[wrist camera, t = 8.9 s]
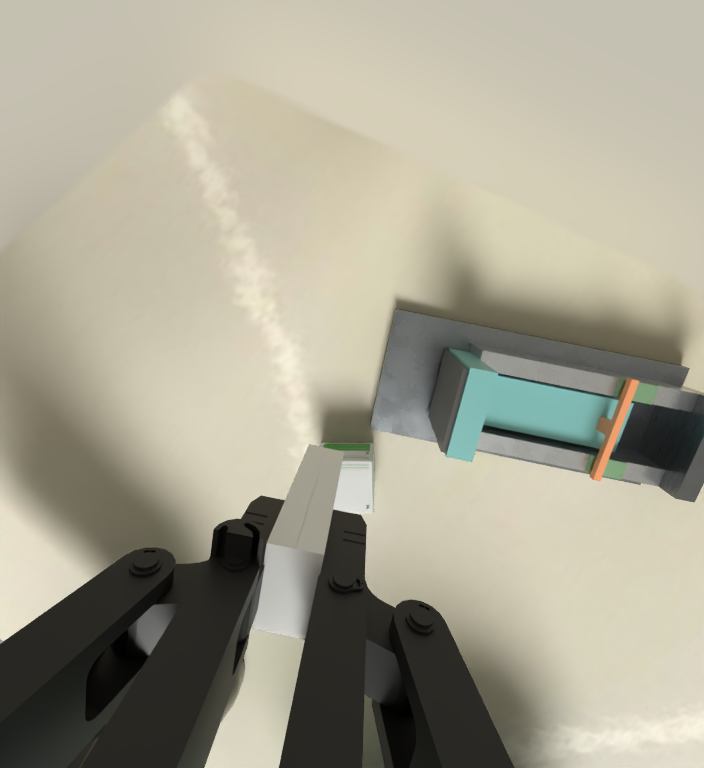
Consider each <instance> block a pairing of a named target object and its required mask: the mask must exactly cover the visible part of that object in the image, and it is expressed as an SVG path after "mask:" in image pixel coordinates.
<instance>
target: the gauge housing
mask: <svg viewBox="0 0 704 768" xmlns="http://www.w3.org/2000/svg"><path fill="white" fill-rule="evenodd" d="M449 348H451V349H456V350H461V351H466V352H471V353H472V354H473V355H475V356H476V357H477V358H479V359H480V360H481V361H483V362H484V363H485V364H487V365H488V366H489V367H491V368H492V369H493V370H495V371H496V372H498V373H500V374H505V375H510V376H515V377H520V378H525V379H530V380H535V381H540V382H545V383H550V384H555V385H560V386H564V387H569V388H574V389H579V390H584V391H589V392H594V393H599V394H604V395H609V396H614V397H616V398H620V396H621V393H622V391H623V388H624V386H625V383H626V380H627V378H631V379H636V380H638V381H639V384H638V386H637V389H636V391H635V394H634V396H633V399H632V403H634V405H633V407H632V410H631V412H630V415H629V417H628V420H627V422H626V425H625V428H624V430H623V433H622V435H621V438H620V440H619V443H618V445H617V448H616V450H615V452H614V451H612V452H611V455H610V457H609V460H608V462H607V465H606V468H605V470H604V473H603V475H602V477H605V478H610V479H615V480H619V481H624V482H629V483H634V484H639V485H640V484H641V483H645V484H649V485H654V486H659V487H660V488H662V489H663V490H664V491H666V492H667V493H668V494H670V495H671V496H673V497H674V498H676V499H680V500H685V501H690V502H695V500H696V498H697V496H698V494H699V492H700V490H701V488H702V486H703V483H704V393H702V392H699V391H696V390H693V389H690V388H687V387H684V386H682V385H683V383H684V380H685V378H686V376H687V373H688V371H689V369H690V368H687V367H684V366H679V365H674V364H669V363H664V362H659V361H654V360H649V359H644V358H639V357H634V356H629V355H624V354H619V353H614V352H609V351H604V350H599V349H594V348H589V347H584V346H579V345H574V344H569V343H564V342H559V341H554V340H549V339H544V338H539V337H534V336H529V335H524V334H519V333H514V332H509V331H504V330H499V329H494V328H489V327H484V326H479V325H474V324H469V323H464V322H459V321H454V320H449V319H444V318H439V317H434V316H429V315H424V314H419V313H414V312H409V311H404V310H399V309H395V313H394V318H393V323H392V327H391V332H390V336H389V341H388V346H387V350H386V355H385V359H384V364H383V369H382V373H381V378H380V382H379V387H378V392H377V396H376V401H375V405H374V410H373V415H372V419H371V424H370V429H373V430H378V431H383V432H388V433H392V434H397V435H402V436H407V437H412V438H417V439H421V440H426V441H431V442H436V443H438V442H437V439H436V437H435V434H434V431H433V428H432V426H431V423H430V420H429V417H428V414H429V410H430V406H431V402H432V398H433V394H434V390H435V386H436V383H437V379H438V375H439V371H440V367H441V363H442V359H443V355H444V351H445V350H448V351H449ZM599 450H600V449H599V448H594V447H589V446H584V445H579V444H575V443H570V442H565V441H560V440H555V439H550V438H545V437H541V436H536V435H531V434H526V433H521V432H516V431H511V430H506V429H502V428H497V427H492V426H487V425H483V427H482V431H481V434H480V437H479V441H478V444H477V448H476V451H479V452H484V453H489V454H494V455H499V456H503V457H508V458H513V459H518V460H523V461H528V462H532V463H537V464H542V465H547V466H552V467H557V468H561V469H566V470H571V471H576V472H581V473H586V474H591V471H592V469H593V466H594V463H595V461H596V458H597V456H598V453H599Z"/></svg>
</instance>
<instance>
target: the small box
mask: <svg viewBox="0 0 704 768" xmlns="http://www.w3.org/2000/svg"><path fill="white" fill-rule="evenodd" d="M320 447H324V448H329V449H334V450H339V451H344V456H343V461H342V466H341V471H340V476H339V481H338V486H337V492H336V497H335V502H334V507H333V509H334V510H339V511H344V512H348V513H373V512H374V443H321V445H320Z"/></svg>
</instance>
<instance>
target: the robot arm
mask: <svg viewBox="0 0 704 768" xmlns="http://www.w3.org/2000/svg"><path fill="white" fill-rule="evenodd" d="M343 456H344V451H339V450H334V449H329V448H324V447H319V446H314V445H309V446H308V448H307V451H306V453H305V455H304V458H303V460H302V462H301V465H300V467H299V469H298V472H297V474H296V476H295V479H294V481H293V483H292V486H291V488H290V490H289V493H288V495H287V497H286V499H285V500H280V499H275V498H270V497H265V496H260V497H258V498H257V499H255V500H254V501H252V502H251V503H250V505H249V506H248V508H247V510H246V511H245V513H244V515H243V517H242V518H241V519H233V520H227V521H225V522H223V523H220V524H219V525H218V526H217V527H216V528H215V529H214V531H213V540H212V548H211V556H210V558H209V560H207V561H204V562H200V563H193V564H175V559H174V557H173V554H171V553H170V552H168V551H167V550H164V549H160V548H143V549H139V550H135V551H133V552H131V553H129V554H127V555H125V556H124V557H122V558H121V559H119V560H118V561H116V562H115V563H114V564H112V565H111V566H109V567H108V568H107V569H105V570H104V571H102V572H101V573H100V574H98V575H97V576H95V577H94V578H93V579H91V580H90V581H88V582H87V583H85V584H84V585H83V586H81V587H80V588H78V589H77V590H76V591H74V592H73V593H71V594H70V595H69V596H67V597H66V598H64V599H63V600H62V601H60V602H59V603H57V604H56V605H55V606H53V607H52V608H50V609H49V610H47V611H46V612H45V613H43V614H42V615H40V616H39V617H38V618H36V619H35V620H33V621H32V622H31V623H29V624H28V625H26V626H25V627H24V628H22V629H21V630H19V631H18V632H16V633H15V634H14V635H12V636H11V637H9V638H8V639H7V640H5V641H4V642H3V641H2V640H1V639H0V768H204V767H205V764H206V761H207V758H208V755H209V753H210V750H211V747H212V744H213V741H214V739H215V736H216V733H217V730H218V727H219V725H220V723H221V721H222V720H223V718H224V717H225V716H226V714H227V713H228V711H229V710H230V709H231V707H232V706H233V704H234V702H235V700H236V698H237V695H238V692H239V690H240V687H241V684H242V681H243V677H244V662H243V657H244V655H245V652H246V649H247V645H248V639H249V633H250V629H251V627H252V624H253V621H254V625H253V629H257V630H262V631H266V632H271V633H276V634H281V635H285V636H290V637H295V638H300V639H304V640H305V643H304V648H303V653H302V658H301V663H300V667H299V672H298V677H297V682H296V687H295V692H294V697H293V702H292V706H291V711H290V716H289V721H288V726H287V731H286V736H285V741H284V746H283V750H282V755H281V760H280V765H279V768H362V753H363V720H364V694H365V695H367V696H368V697H370V698H372V707H373V712H374V717H375V721H376V726H377V731H378V736H379V740H380V745H381V750H382V755H383V759H384V764H385V768H514V766H513V764H512V762H511V760H510V758H509V756H508V754H507V751H506V749H505V747H504V745H503V743H502V741H501V739H500V737H499V734H498V732H497V730H496V728H495V726H494V724H493V722H492V720H491V717H490V715H489V713H488V711H487V709H486V707H485V705H484V703H483V700H482V698H481V696H480V694H479V692H478V690H477V688H476V686H475V683H474V681H473V679H472V677H471V675H470V673H469V671H468V669H467V667H466V664H465V662H464V660H463V658H462V656H461V654H460V652H459V650H458V647H457V645H456V643H455V641H454V639H453V637H452V635H451V633H450V630H449V628H448V626H447V624H446V622H445V620H444V619H443V617H442V616H441V615H440V613H439V612H438V611H436V610H435V609H434V608H433V607H432V606H430V605H428V604H426V603H424V602H422V601H417V600H406V601H402V602H401V603H399V604H398V605H397V606H396V608H395V607H393V606H391V605H389V604H387V603H385V602H383V601H381V600H380V599H378V598H377V597H376V596H375V595H373V594H372V593H371V591H370V590H369V589H368V587H367V584H366V581H365V553H366V527H367V525H366V523H365V521H364V520H363V518H362V516H361V515H358V514H353V513H348V512H344V511H339V510H334V509H333V507H334V502H335V497H336V492H337V486H338V481H339V476H340V471H341V466H342V461H343ZM254 618H255V619H254Z"/></svg>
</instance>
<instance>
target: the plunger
mask: <svg viewBox="0 0 704 768" xmlns="http://www.w3.org/2000/svg"><path fill="white" fill-rule="evenodd" d="M638 384H639V381H638V380H636V379H631V378H627V380H626V383H625V386H624V388H623V391H622V393H621V396H620V398H616V397H614V396H609V395H604V394H599V393H594V392H589V391H584V390H579V389H574V388H569V387H564V386H560V385H555V384H550V383H545V382H540V381H535V380H530V379H525V378H520V377H515V376H510V375H505V374H500V373H498V372H496V371H495V370H493V369H492V368H491V367H489V366H488V365H487V364H485V363H484V362H483V361H481V360H480V359H479V358H477V357H476V356H475V355H473V354H472V353H471V352H466V351H461V350H456V349H451V348H449V351H448V350H445V351H444V355H443V359H442V363H441V367H440V371H439V375H438V379H437V383H436V386H435V390H434V394H433V398H432V402H431V406H430V410H429V414H428V417H429V420H430V423H431V426H432V428H433V431H434V434H435V437H436V439H437V442H438V445H439V448H440V450H441V452H444V453H445V455H446V457H450V458H455V459H460V460H464V461H469V462H472V461H473V458H474V454H475V451H476V448H477V444H478V441H479V437H480V434H481V431H482V427H483V425H487V426H492V427H497V428H502V429H506V430H511V431H516V432H521V433H526V434H531V435H536V436H541V437H545V438H550V439H555V440H560V441H565V442H570V443H575V444H579V445H584V446H589V447H594V448H599V449H600V450H599V453H598V456H597V458H596V461H595V463H594V466H593V469H592V471H591V474H590V477H591V478H592V479H593V480H597V481H600V480H601V478H602V475H603V473H604V470H605V468H606V465H607V462H608V460H609V457H610V455H611V452H612V451H614V452H615V450H616V448H617V445H618V443H619V440H620V438H621V435H622V433H623V430H624V428H625V425H626V422H627V420H628V417H629V415H630V412H631V410H632V407H633V405H634V403H632V399H633V396H634V394H635V391H636V389H637V386H638Z"/></svg>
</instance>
